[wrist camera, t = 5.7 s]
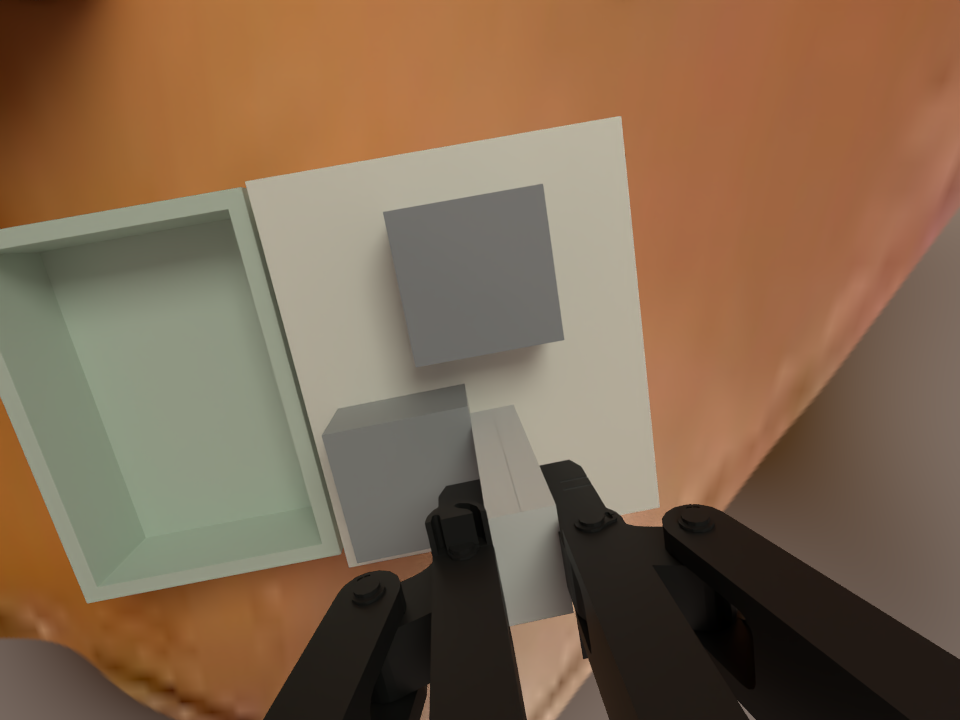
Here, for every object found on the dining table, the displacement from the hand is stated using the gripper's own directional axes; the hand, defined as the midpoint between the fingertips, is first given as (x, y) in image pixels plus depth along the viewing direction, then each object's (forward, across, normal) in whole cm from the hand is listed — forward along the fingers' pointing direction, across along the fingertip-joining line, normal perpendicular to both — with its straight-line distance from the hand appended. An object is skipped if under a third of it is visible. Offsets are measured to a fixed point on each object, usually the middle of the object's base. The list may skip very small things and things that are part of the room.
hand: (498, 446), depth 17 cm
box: (+6, -12, +3) cm, 14 cm away
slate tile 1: (+1, -3, 0) cm, 3 cm away
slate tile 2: (+1, 0, +6) cm, 6 cm away
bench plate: (+6, 0, +3) cm, 7 cm away
